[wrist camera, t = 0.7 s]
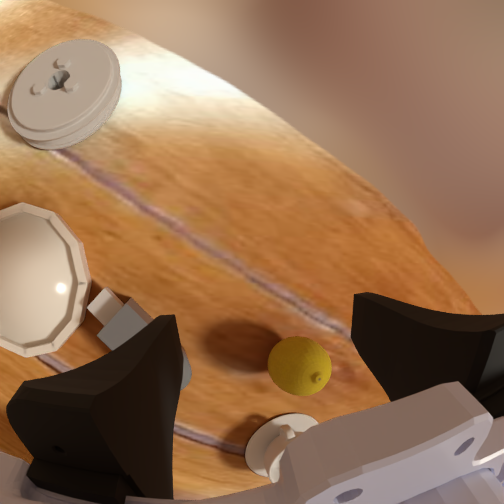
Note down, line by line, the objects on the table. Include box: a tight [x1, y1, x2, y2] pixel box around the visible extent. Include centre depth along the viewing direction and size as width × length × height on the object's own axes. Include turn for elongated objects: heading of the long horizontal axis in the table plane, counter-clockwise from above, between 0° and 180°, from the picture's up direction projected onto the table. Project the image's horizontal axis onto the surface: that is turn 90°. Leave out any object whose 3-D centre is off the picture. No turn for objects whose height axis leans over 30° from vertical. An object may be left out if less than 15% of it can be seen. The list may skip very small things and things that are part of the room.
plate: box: [0, 202, 92, 357], centre depth 22 cm, size 14×14×2 cm
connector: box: [87, 287, 192, 390], centre depth 24 cm, size 4×10×4 cm, turn 45°
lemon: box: [268, 336, 331, 396], centre depth 27 cm, size 6×6×8 cm
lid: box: [7, 39, 121, 150], centre depth 22 cm, size 13×13×5 cm
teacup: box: [245, 413, 319, 483], centre depth 28 cm, size 10×10×5 cm
